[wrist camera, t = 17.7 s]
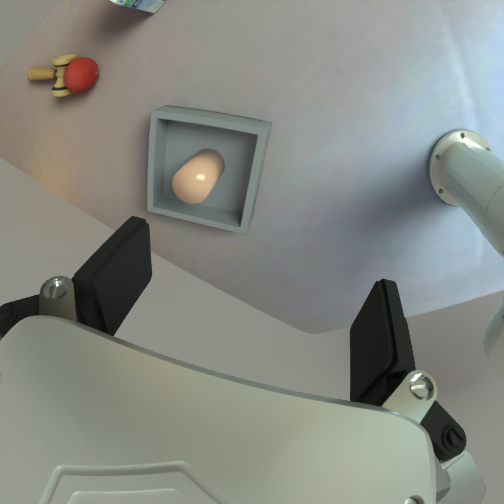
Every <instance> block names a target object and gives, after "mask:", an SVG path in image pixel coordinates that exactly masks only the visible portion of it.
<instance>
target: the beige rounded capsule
mask: <svg viewBox="0 0 504 504" xmlns="http://www.w3.org/2000/svg"><path fill="white" fill-rule="evenodd" d="M224 169H225V162H224V159H223V157H222V156H221V154H220V153H218V152H217V151H215V150H213V149H202V150H200V151H198V152H197V153H196V154H195V155H194V156H193V157H192V158H191V159H190V160H189V161H188V162H187V163H186V164H185V165H184V166H183V167H182V168H181V169H180V170H179V171H178V172H177V173H176V174H175V175H174V177H173V180H172V187H173V190H174V192H175V194H176V195H177V197H178V198H180V199H181V200H182V201H184V202H186V203H190V204H196V203H200V202H202V201H203V200H204V199H205V198H206V197H207V196H208V194H209V193H210V191H211V190H212V188H213V187H214V185H215V184H216V182H217V181H218V179H219V178H220V176H221V175H222V173H223V172H224Z"/></svg>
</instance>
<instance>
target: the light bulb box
mask: <svg viewBox="0 0 504 504" xmlns="http://www.w3.org/2000/svg"><path fill="white" fill-rule="evenodd" d="M110 1H112V2H113V3H115V4H117V5H122V6H126V7H131V8H135V9H139V10H143V11H147V12H151V13H156V11H157V10H158V9H159V8H160V7H161V6H162V4H163V3H164V2H165V1H166V0H110Z"/></svg>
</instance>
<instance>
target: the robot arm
mask: <svg viewBox="0 0 504 504" xmlns="http://www.w3.org/2000/svg"><path fill="white" fill-rule="evenodd" d="M460 134H461V136H460ZM436 155H437V157H436ZM429 176H430V180H431V184H432V186H433V188H434V190H435V192H436V193H437V194H438V196H439V197H440V198H441V199H442V200H443V201H445V202H446V203H448V204H450V205H452V206H457V207H461V208H462V209H463V210H464V211H465V212H466V213H467V215H468V216H469V217H470V218H471V220H472V221H473V222H474V223H475V224H476V226H477V227H478V228H479V229H480V231H481V232H482V233H483V235H484V236H485V237H486V238H487V240H488V241H489V242H490V244H491V245H492V246H493V248H494V249H495V250H496V251H497V252H498V253H499V254H500V255H501V256H503V257H504V161H503V160H502V159H500V158H499V157H497V156H496V155H494V154H493V152H492V149H491V147H490V145H489V144H488V142H487V141H486V140H485V139H484V138H483V137H482V136H481V135H479V134H478V133H476V132H474V131H471V130H468V129H458V130H454V131H451V132H449V133H447V134H446V135H445V136H443V137H442V138H441V139H440V140H439V141H438V143H437V144H436V146H435V147H434V150H433V152H432V154H431V158H430V162H429ZM439 189H440V190H439ZM151 277H152V266H151V250H150V231H149V224H148V223H146V220H145V219H143V218H139V217H135V216H132V217H130V218H129V219H128V220H127V221H126V222H125V223H124V224H123V225H122V226H121V227H120V228H119V229H118V230H117V231H116V232H115V233H114V234H113V235H112V236H111V237H110V238H109V239H108V240H107V241H106V242H105V243H104V244H103V245H102V246H101V247H100V248H99V249H98V250H97V251H96V252H95V253H94V254H93V255H92V256H91V257H90V258H89V259H88V260H87V261H86V262H85V263H84V265H82V267H81V268H80V269H79V270H78V271H77V272H76V273H75V274H74V277H73V278H72V279H70V278H68V277H65V276H55V277H52V278H50V279H49V280H47V281H46V282H45V283H44V284H43V285H42V286H41V288H40V294H38V295H35V296H31V297H27V298H24V299H20V300H16V301H13V302H9V303H6V304H3V305H2V306H0V504H479V503H481V501H482V500H483V498H484V496H485V493H486V486H485V483H484V481H483V478H482V476H481V474H480V472H479V471H478V468H477V466H476V464H475V462H474V460H473V458H472V456H471V454H470V452H469V451H468V452H465V450H464V449H465V446H466V435H465V432H464V430H463V429H462V428H461V426H460V425H459V424H458V423H456V421H455V420H454V419H453V418H452V417H451V416H450V415H449V414H448V413H447V412H446V411H445V410H444V409H443V408H442V407H441V406H440V405H439V404H438V402H437V401H436V400H435V399H436V396H437V386H436V383H435V382H434V380H433V378H432V377H431V376H430V375H428V374H427V373H425V372H423V371H419V370H416V369H415V362H414V356H413V351H412V345H411V340H410V334H409V330H408V325H407V321H406V318H405V317H404V314H403V309H402V305H401V301H400V297H399V292H398V288H397V284H396V282H394V281H391V280H387V279H381V280H380V281H376V282H375V284H374V286H373V288H372V290H371V292H370V294H369V295H368V297H367V299H366V301H365V303H364V305H363V306H362V308H361V310H360V312H359V313H358V315H357V317H356V319H355V320H354V322H353V324H352V326H351V329H350V401H346V400H340V399H334V398H329V397H323V396H318V395H312V394H307V393H302V392H297V391H292V390H287V389H283V388H278V387H274V386H269V385H265V384H261V383H257V382H253V381H249V380H245V379H241V378H237V377H234V376H230V375H226V374H223V373H219V372H216V371H212V370H209V369H206V368H202V367H199V366H196V365H193V364H189V363H186V362H183V361H180V360H177V359H174V358H171V357H168V356H165V355H162V354H159V353H156V352H154V351H151V350H148V349H145V348H142V347H140V346H137V345H134V344H132V343H129V342H127V341H124V340H121V339H119V338H116V337H113V336H114V334H115V333H116V331H117V330H118V328H119V327H120V325H121V323H122V322H123V320H124V319H125V317H126V316H127V314H128V313H129V311H130V310H131V308H132V307H133V305H134V303H135V302H136V301H137V299H138V298H139V296H140V295H141V293H142V292H143V290H144V289H145V288H146V286H147V285H148V283H149V282H150V280H151ZM483 346H484V351H485V354H486V357H487V359H488V361H489V363H490V365H491V366H492V368H493V369H494V370H495V372H496V373H497V374H498V375H499V377H500V378H501V379H502V380H503V381H504V298H503V300H502V301H501V303H500V304H499V306H498V307H497V309H496V310H495V312H494V313H493V315H492V316H491V318H490V320H489V321H488V323H487V325H486V328H485V330H484V335H483Z"/></svg>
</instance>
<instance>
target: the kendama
mask: <svg viewBox="0 0 504 504" xmlns="http://www.w3.org/2000/svg"><path fill="white" fill-rule="evenodd" d="M53 65H54V66H55V67H56V69H57V70H56V69H52V68H43V67H32V68H31V69H29V71H28V73H27V78H28V80H29V81H36V80H48V79H54V78H57V81H56V84H55V85H54V87H53V88H52V90H51V91H52V96H54V97H61V96H67V95H70V94H73V93H75V92H83V91H86V90H88V89H89V88H91V87H92V86H93V85H94V84H95V82H96V80H97V78H98V73H99V70H98V66H97V64H96V62H95V61H93V60H92V59H90V58H78V59H77V55H76V54H68V55H62V56H58V57H55V58H54V59H53Z"/></svg>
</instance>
